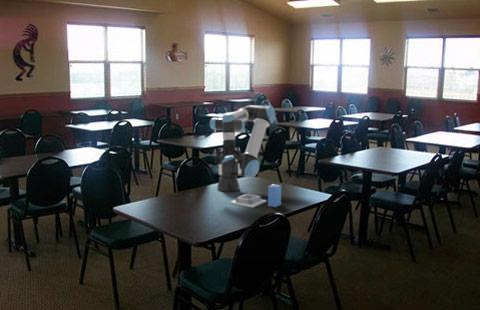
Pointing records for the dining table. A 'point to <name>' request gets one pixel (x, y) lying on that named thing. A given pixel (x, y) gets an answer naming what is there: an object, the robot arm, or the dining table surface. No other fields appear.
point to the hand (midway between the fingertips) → (230, 174)
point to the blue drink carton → (274, 195)
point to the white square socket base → (248, 200)
